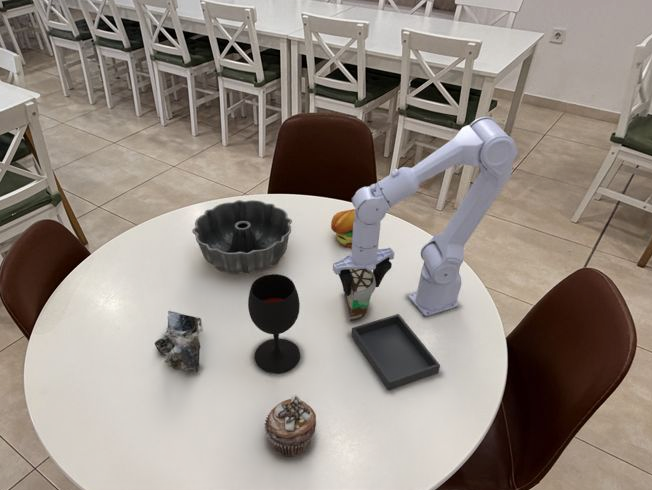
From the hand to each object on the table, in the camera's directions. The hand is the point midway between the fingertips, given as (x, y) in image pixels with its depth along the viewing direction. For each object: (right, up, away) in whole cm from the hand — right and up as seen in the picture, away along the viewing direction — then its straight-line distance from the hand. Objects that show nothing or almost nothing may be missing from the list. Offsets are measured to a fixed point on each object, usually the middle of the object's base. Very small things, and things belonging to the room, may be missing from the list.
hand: (361, 288), depth 117 cm
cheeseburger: (+1, +16, +25) cm, 30 cm away
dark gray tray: (+6, -15, -7) cm, 18 cm away
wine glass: (-20, -16, -6) cm, 26 cm away
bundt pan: (-29, +11, +21) cm, 38 cm away
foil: (-41, -14, -4) cm, 44 cm away
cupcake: (-17, -30, -22) cm, 41 cm away
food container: (0, -4, +4) cm, 6 cm away
